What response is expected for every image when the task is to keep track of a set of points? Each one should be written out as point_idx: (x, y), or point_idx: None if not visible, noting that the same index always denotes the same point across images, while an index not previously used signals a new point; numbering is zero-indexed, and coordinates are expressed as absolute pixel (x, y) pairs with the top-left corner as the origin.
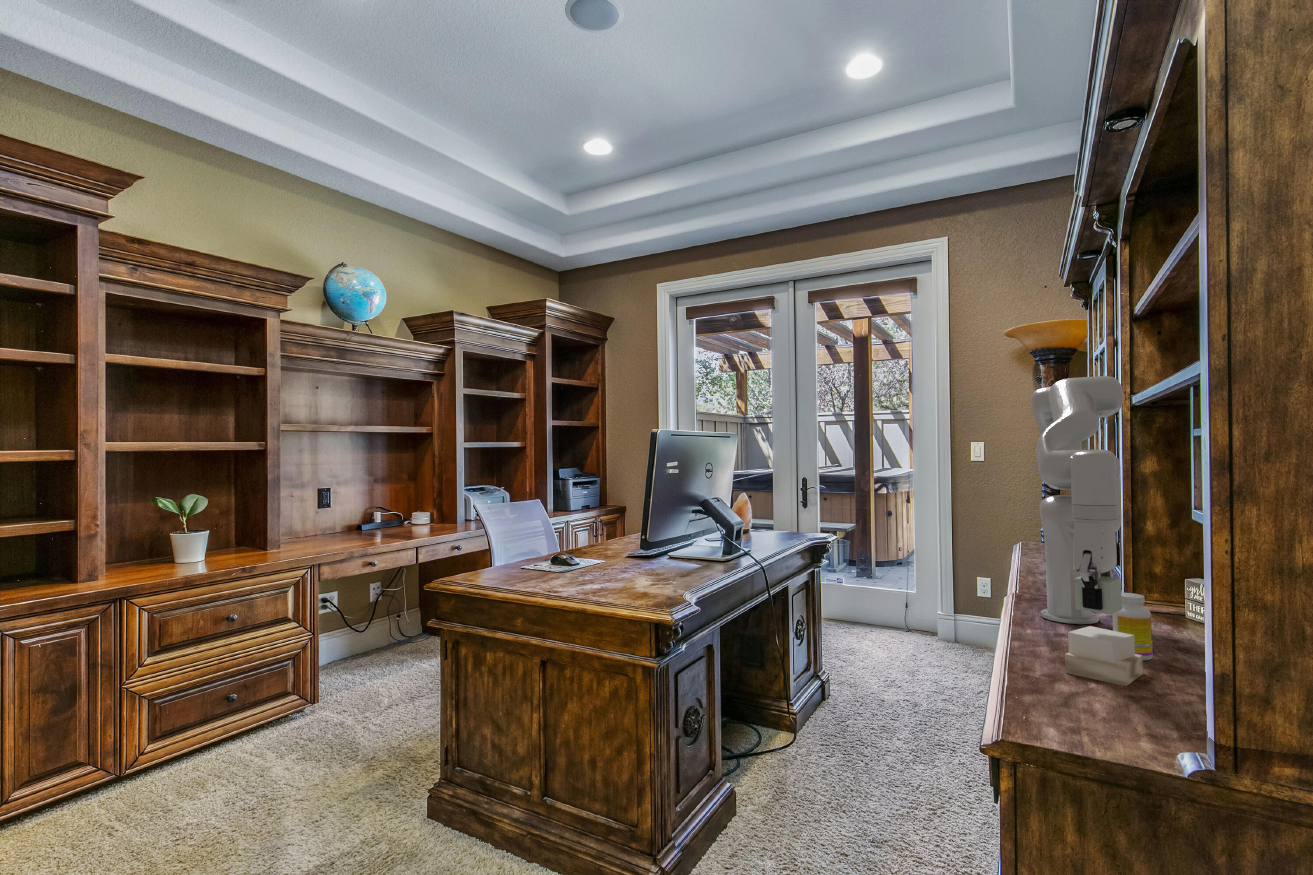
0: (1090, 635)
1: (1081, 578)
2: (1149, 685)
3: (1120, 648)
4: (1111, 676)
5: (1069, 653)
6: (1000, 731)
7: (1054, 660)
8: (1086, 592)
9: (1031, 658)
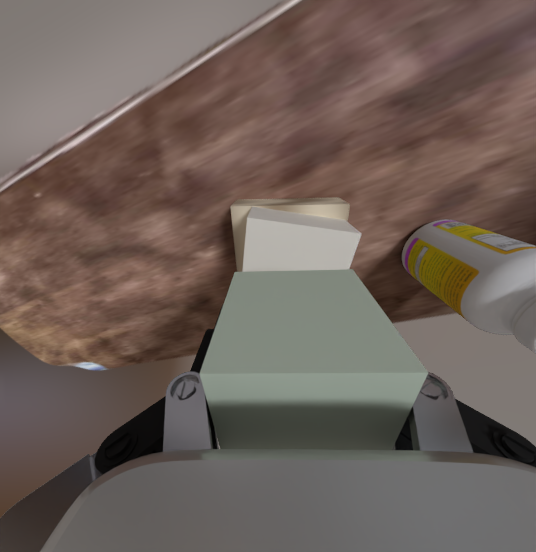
0: (257, 267)
1: (100, 446)
2: None
3: None
4: None
5: (244, 211)
6: None
7: (303, 147)
8: (194, 366)
9: (281, 95)
